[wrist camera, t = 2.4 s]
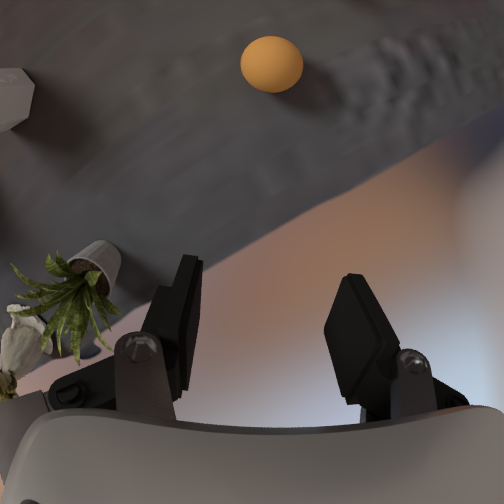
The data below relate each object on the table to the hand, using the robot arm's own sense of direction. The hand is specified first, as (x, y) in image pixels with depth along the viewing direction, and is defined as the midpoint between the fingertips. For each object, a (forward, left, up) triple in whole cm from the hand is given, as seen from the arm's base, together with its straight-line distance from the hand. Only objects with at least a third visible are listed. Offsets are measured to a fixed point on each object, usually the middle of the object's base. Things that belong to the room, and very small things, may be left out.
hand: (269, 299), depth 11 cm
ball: (-12, 0, -20) cm, 23 cm away
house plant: (+13, -20, -24) cm, 34 cm away
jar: (-9, -34, -24) cm, 42 cm away
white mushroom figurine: (+33, -40, -24) cm, 57 cm away
